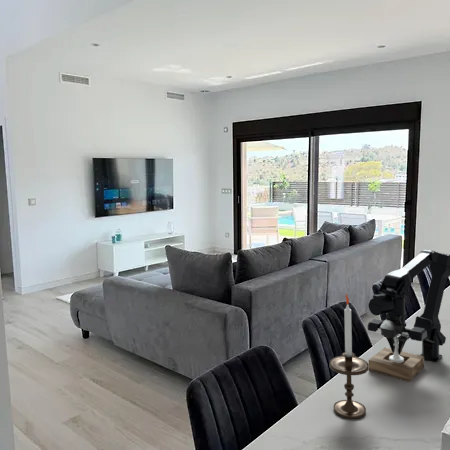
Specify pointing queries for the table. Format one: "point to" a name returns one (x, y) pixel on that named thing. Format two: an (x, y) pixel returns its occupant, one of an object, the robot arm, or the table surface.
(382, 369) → the tan wooden square block
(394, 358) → the chess piece
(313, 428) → the table surface
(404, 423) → the table surface
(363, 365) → the candlestick
